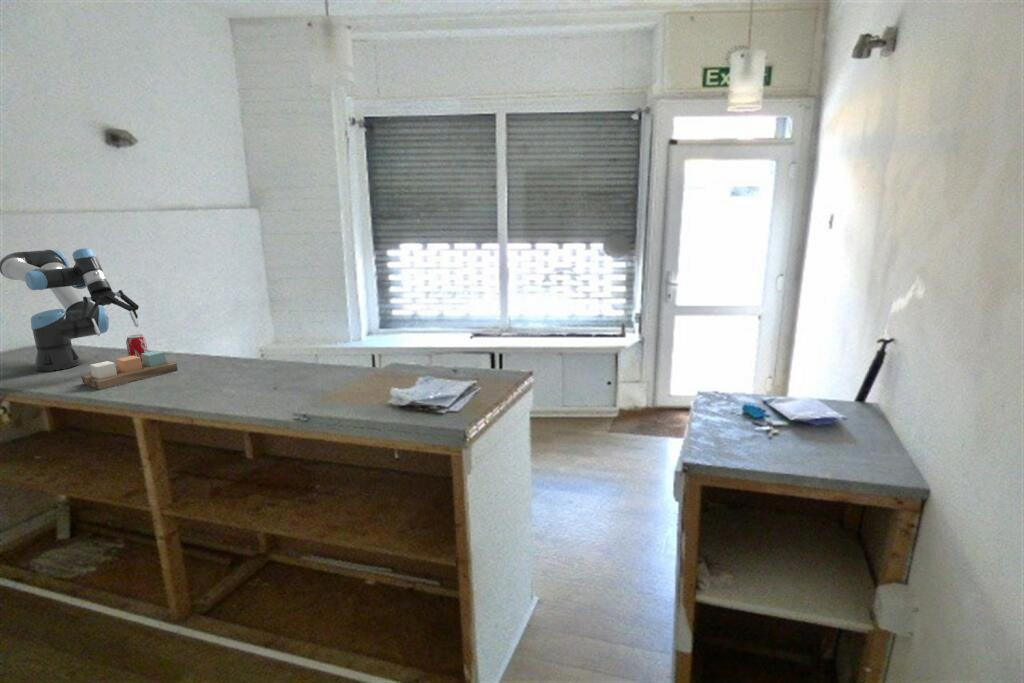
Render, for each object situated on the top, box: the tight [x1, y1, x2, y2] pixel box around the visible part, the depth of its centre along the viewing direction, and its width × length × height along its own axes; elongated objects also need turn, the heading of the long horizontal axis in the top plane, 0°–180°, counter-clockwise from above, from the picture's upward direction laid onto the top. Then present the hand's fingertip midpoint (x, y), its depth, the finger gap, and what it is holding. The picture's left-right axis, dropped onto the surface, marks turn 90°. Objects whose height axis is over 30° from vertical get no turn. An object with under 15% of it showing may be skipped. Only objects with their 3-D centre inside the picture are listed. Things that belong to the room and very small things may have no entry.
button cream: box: [89, 360, 117, 379], centre depth 220 cm, size 6×6×6 cm
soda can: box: [125, 334, 149, 362], centre depth 245 cm, size 7×7×12 cm
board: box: [81, 360, 178, 390], centre depth 228 cm, size 14×28×3 cm, turn 146°
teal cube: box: [141, 349, 167, 367], centre depth 234 cm, size 6×6×6 cm
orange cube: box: [115, 356, 142, 373], centre depth 227 cm, size 6×6×6 cm
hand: (118, 330), depth 236 cm, fingers open, 13 cm apart
